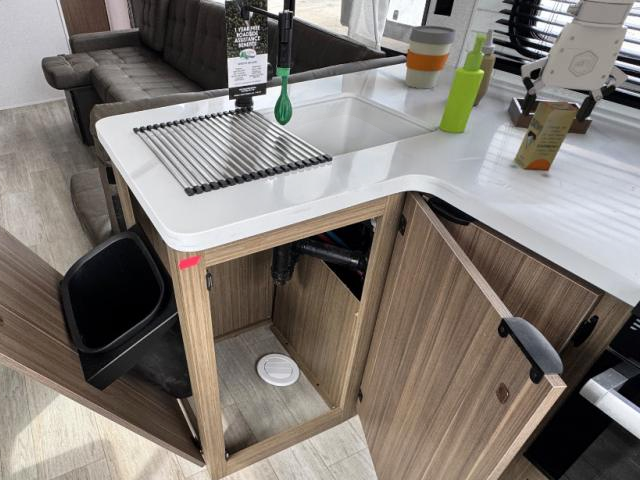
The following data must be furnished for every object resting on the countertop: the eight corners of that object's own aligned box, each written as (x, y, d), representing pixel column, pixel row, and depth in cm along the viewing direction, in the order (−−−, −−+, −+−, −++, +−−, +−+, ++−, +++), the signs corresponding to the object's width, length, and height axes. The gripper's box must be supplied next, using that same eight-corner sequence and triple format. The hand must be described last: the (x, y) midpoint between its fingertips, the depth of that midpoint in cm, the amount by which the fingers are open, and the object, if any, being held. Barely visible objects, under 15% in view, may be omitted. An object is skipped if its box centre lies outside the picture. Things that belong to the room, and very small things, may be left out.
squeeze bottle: (487, 107, 120) (514, 32, 108) (458, 107, 120) (482, 32, 108) (475, 98, 126) (499, 26, 114) (447, 98, 126) (469, 26, 114)
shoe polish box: (523, 169, 90) (551, 109, 82) (514, 159, 93) (540, 101, 85) (548, 170, 89) (578, 109, 81) (538, 160, 93) (566, 101, 85)
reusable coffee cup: (391, 81, 139) (402, 27, 130) (422, 77, 143) (435, 24, 133) (417, 92, 131) (431, 34, 121) (449, 87, 134) (466, 31, 124)
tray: (571, 116, 115) (578, 103, 113) (585, 133, 105) (592, 120, 103) (507, 110, 118) (512, 97, 116) (515, 126, 109) (520, 113, 107)
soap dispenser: (465, 125, 109) (496, 33, 96) (463, 134, 104) (496, 39, 91) (440, 121, 111) (468, 31, 98) (438, 130, 106) (466, 36, 93)
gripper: (549, 13, 73) (506, 118, 84) (669, 21, 69) (607, 129, 80) (540, 7, 78) (501, 106, 90) (651, 14, 75) (595, 117, 86)
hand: (551, 117), depth 85 cm, fingers open, 9 cm apart
